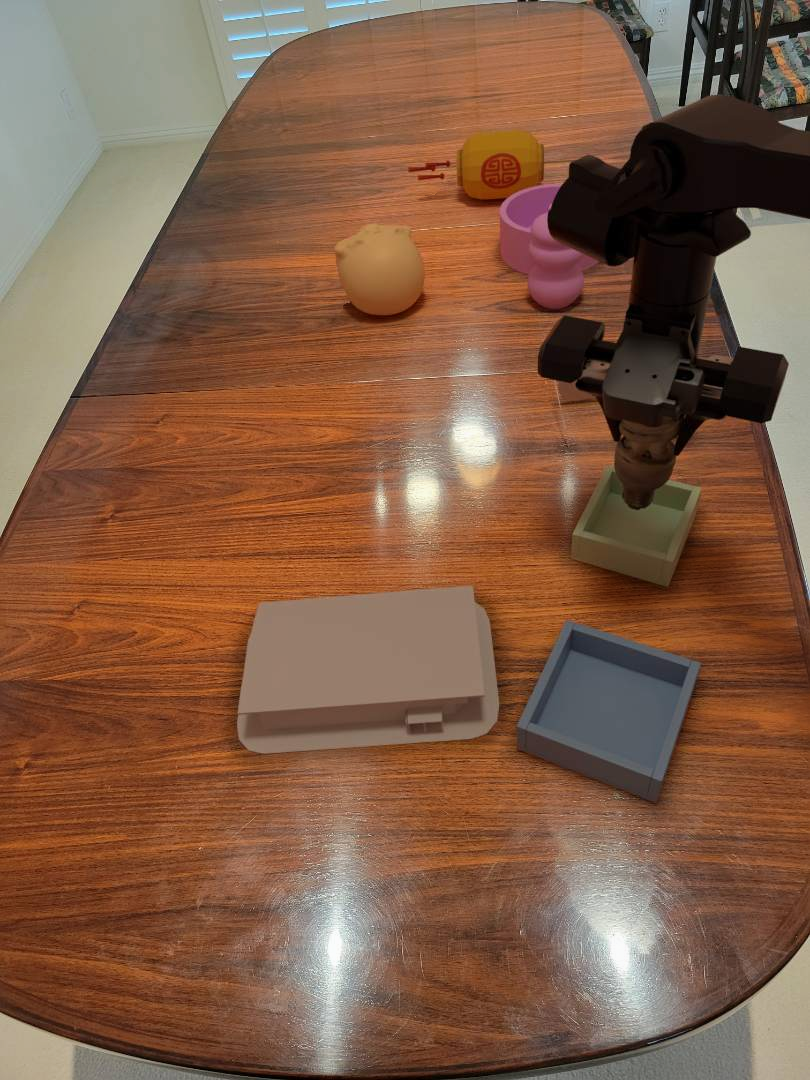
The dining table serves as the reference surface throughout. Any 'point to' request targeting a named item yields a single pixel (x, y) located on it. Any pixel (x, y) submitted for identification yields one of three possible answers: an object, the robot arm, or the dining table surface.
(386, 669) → the book
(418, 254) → the sculpture
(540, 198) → the container set
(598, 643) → the gray square bin
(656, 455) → the brown ridged cylinder
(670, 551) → the right bin
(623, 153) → the dining table surface
